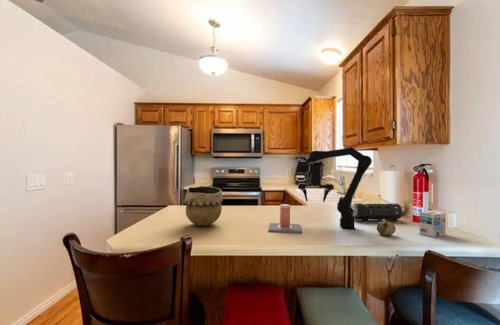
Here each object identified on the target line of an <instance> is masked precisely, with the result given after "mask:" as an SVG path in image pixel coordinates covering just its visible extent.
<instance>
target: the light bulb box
mask: <svg viewBox="0 0 500 325" xmlns="http://www.w3.org/2000/svg"><path fill="white" fill-rule="evenodd" d="M446 215H447V213H446V212H443V211H442V212H441V211H438V210H437V211H435V210H427V211H419V225H418V226H419V227H418V229H419V235H423V236H427V237H430V238H436V237H443V236H446V225H447V224H446V223H447V222H446V220H447V218H446V217H447V216H446Z"/></svg>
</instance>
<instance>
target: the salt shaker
mask: <svg viewBox="0 0 500 325" xmlns="http://www.w3.org/2000/svg"><path fill="white" fill-rule="evenodd" d="M279 206H280V207H279V211H280V213H279V214H280V215H279V223H280V227H282V228H289V227H290V224H291V204H285V203H283V204H280V205H279Z"/></svg>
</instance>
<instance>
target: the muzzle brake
mask: <svg viewBox="0 0 500 325" xmlns="http://www.w3.org/2000/svg"><path fill="white" fill-rule="evenodd" d="M351 208H352V209H353V210H354V211H355V212H354V214H353V216H354V217H355V220H356V221H357V220H358V221H360V220H361V221H362V222H368V221H369V220H371V221H375V220H376V221H378V222H380V221H382V219H385V220H386V221H398V220H399V219H401V218H402V215H403V208H402V206H401V204H399V203H361V202H360V203H359V202H354V203H351Z"/></svg>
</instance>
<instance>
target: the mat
mask: <svg viewBox="0 0 500 325" xmlns="http://www.w3.org/2000/svg"><path fill="white" fill-rule="evenodd" d="M267 231H268V233H285V234H286V233H288V234H302V233H303V230H302V226H301V223H290V227H289V228H282V227H280V222H270V223H269V226H268V230H267Z"/></svg>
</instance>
